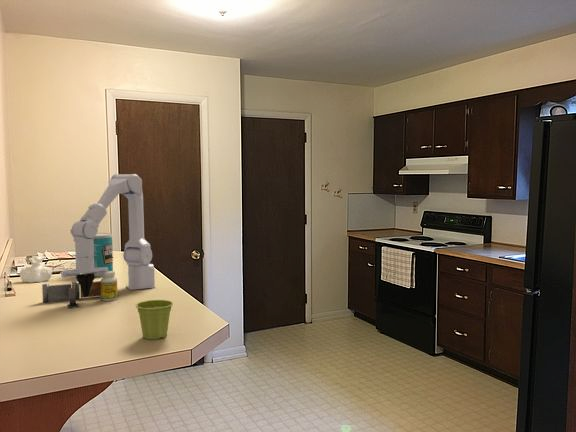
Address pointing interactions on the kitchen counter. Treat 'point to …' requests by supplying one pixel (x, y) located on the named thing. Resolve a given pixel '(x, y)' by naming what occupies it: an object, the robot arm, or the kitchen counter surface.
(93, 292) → the brown wooden block
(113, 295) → the supplement bottle
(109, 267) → the food can
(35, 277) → the bust
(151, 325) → the plant pot
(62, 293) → the fence
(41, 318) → the kitchen counter surface
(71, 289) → the latch post
